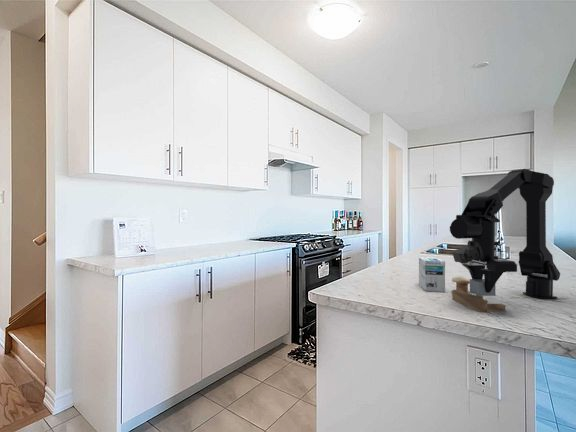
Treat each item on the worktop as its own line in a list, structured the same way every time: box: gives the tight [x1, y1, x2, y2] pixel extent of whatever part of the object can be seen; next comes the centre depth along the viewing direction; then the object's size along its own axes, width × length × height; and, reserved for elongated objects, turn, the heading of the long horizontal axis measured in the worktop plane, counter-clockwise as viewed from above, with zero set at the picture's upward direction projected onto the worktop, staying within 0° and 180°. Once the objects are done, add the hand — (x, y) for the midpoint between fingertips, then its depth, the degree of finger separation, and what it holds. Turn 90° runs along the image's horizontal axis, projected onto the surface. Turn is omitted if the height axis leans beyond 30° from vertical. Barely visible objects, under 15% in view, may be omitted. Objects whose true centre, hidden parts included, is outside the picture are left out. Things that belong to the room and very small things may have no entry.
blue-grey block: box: [469, 278, 496, 297], centre depth 90 cm, size 5×4×4 cm
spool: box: [451, 276, 473, 295], centre depth 102 cm, size 6×6×5 cm
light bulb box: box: [418, 256, 446, 293], centre depth 110 cm, size 11×7×11 cm, turn 168°
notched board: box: [451, 289, 507, 313], centre depth 90 cm, size 8×12×3 cm
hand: (482, 290), depth 90 cm, fingers closed on blue-grey block, 4 cm apart
